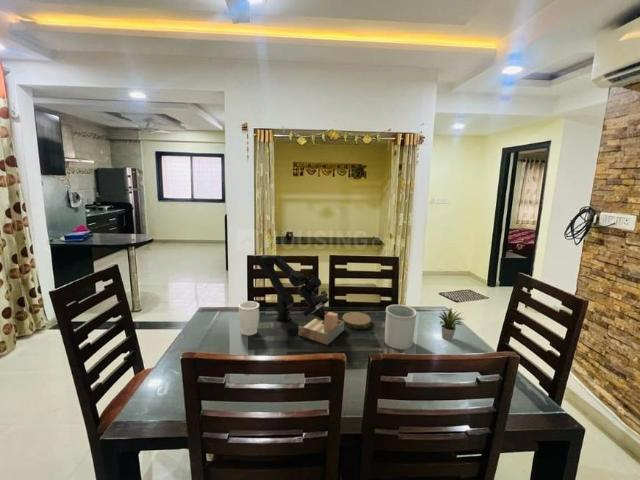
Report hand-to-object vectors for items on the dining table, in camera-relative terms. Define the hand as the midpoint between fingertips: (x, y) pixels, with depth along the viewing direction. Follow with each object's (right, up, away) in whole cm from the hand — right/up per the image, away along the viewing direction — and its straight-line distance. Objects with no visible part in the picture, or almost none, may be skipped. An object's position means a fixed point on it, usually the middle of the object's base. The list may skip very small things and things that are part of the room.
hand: (326, 320), depth 175 cm
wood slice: (+17, -5, +16) cm, 24 cm away
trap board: (-5, -7, +4) cm, 10 cm away
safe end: (+2, -8, 0) cm, 8 cm away
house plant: (+63, -10, +1) cm, 63 cm away
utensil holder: (+36, -10, -5) cm, 38 cm away
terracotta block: (+2, -5, 0) cm, 6 cm away
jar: (-40, -6, +1) cm, 40 cm away
